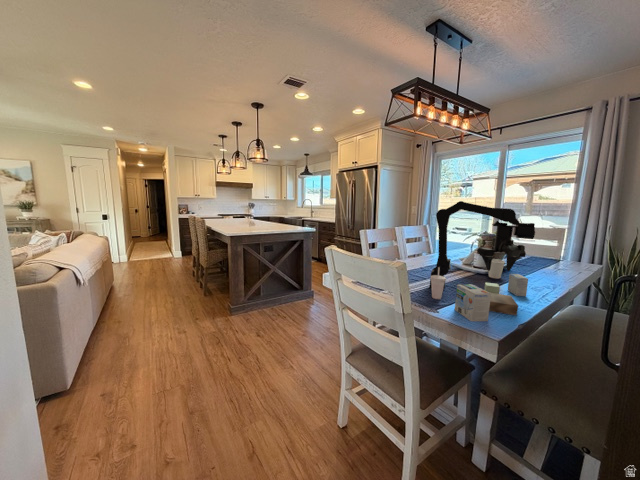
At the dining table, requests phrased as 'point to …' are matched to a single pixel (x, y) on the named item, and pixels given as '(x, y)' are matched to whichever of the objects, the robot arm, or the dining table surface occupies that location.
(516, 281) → the medicine box
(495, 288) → the sage block
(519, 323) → the dining table surface
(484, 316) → the light bulb box
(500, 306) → the walnut riser block
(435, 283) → the smoothie
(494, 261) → the dixie cup
